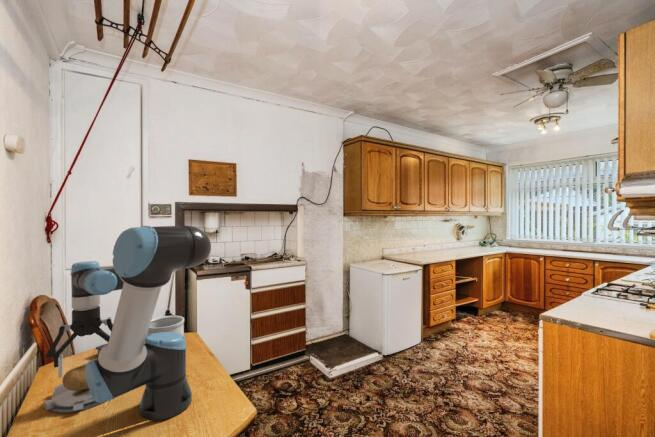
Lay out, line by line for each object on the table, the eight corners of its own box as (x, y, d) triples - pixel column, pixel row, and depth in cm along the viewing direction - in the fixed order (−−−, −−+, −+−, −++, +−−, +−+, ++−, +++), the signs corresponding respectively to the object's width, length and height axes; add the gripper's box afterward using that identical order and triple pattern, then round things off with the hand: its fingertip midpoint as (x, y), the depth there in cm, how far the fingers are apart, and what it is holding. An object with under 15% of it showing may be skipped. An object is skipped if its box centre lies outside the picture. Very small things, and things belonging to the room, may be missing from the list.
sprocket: (56, 420, 89) (56, 397, 89) (36, 398, 100) (36, 377, 100) (134, 386, 107) (134, 367, 107) (110, 371, 118) (110, 353, 118)
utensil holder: (157, 375, 117) (157, 330, 117) (137, 365, 125) (136, 323, 125) (191, 359, 129) (191, 319, 129) (171, 351, 137) (171, 313, 137)
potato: (118, 379, 108) (118, 356, 108) (73, 401, 95) (73, 376, 95) (100, 374, 112) (100, 352, 112) (54, 394, 99) (54, 370, 99)
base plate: (120, 400, 101) (120, 398, 101) (42, 421, 90) (42, 418, 90) (122, 375, 117) (122, 373, 117) (56, 390, 107) (56, 388, 107)
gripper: (130, 299, 113) (131, 356, 112) (39, 311, 99) (40, 376, 99) (129, 303, 106) (130, 364, 106) (32, 317, 93) (33, 386, 93)
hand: (87, 370), depth 103 cm, fingers open, 13 cm apart
